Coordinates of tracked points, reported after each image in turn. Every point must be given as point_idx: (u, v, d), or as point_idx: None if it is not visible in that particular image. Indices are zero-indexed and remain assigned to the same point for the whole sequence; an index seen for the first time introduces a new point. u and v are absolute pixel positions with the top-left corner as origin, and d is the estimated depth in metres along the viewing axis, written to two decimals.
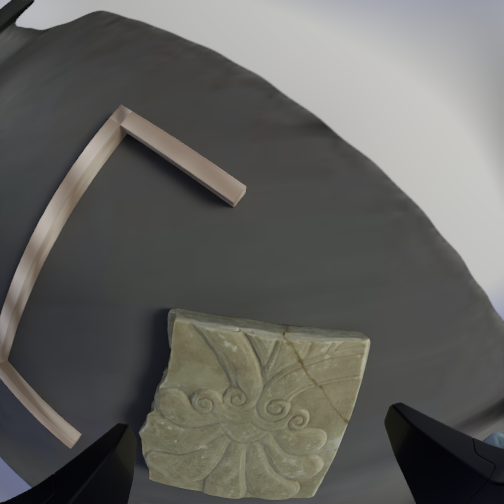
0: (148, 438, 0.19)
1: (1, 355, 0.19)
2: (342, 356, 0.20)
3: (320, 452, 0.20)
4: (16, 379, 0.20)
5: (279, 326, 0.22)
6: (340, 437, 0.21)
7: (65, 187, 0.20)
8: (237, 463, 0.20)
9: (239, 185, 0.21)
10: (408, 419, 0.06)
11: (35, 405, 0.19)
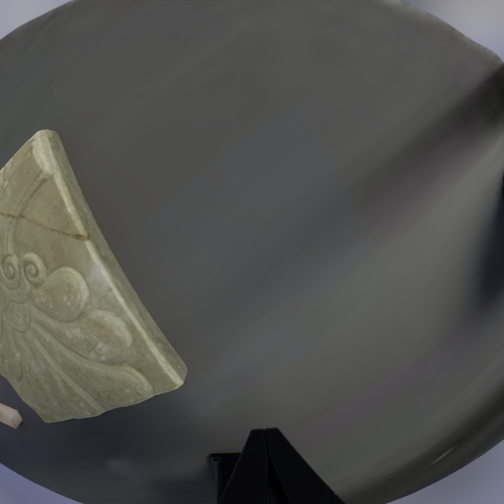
0: (1, 372, 0.15)
1: None
2: (15, 170, 0.12)
3: (98, 303, 0.15)
4: None
5: None
6: (96, 265, 0.14)
7: None
8: (45, 360, 0.15)
9: None
10: (270, 449, 0.06)
11: None
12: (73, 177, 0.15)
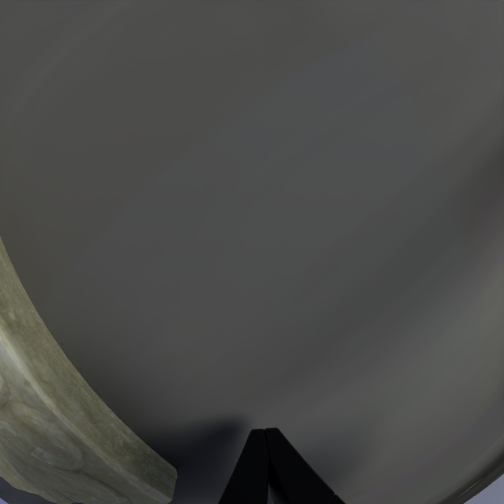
0: None
1: None
2: None
3: (20, 396, 0.06)
4: None
5: None
6: None
7: None
8: None
9: None
10: (270, 449, 0.06)
11: None
12: None
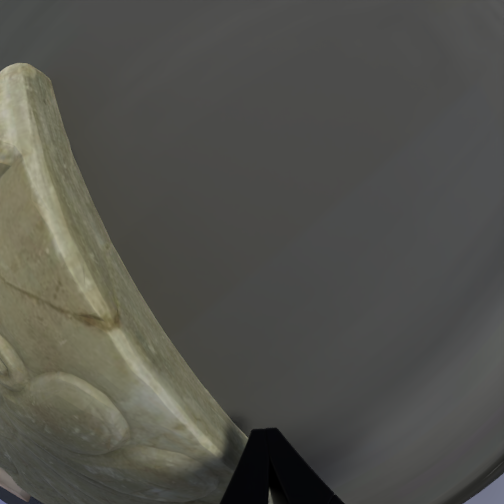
0: None
1: None
2: None
3: (150, 440, 0.06)
4: None
5: None
6: (143, 385, 0.06)
7: None
8: (51, 478, 0.06)
9: None
10: (269, 449, 0.06)
11: None
12: (71, 165, 0.06)
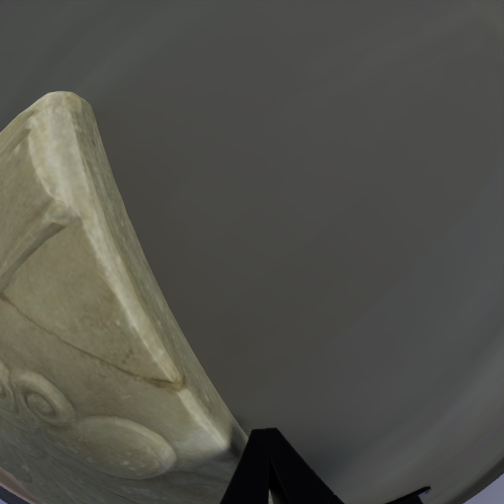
0: None
1: None
2: None
3: (193, 468, 0.07)
4: None
5: None
6: (202, 430, 0.06)
7: None
8: (75, 492, 0.07)
9: None
10: (269, 449, 0.06)
11: (19, 491, 0.09)
12: (126, 219, 0.07)
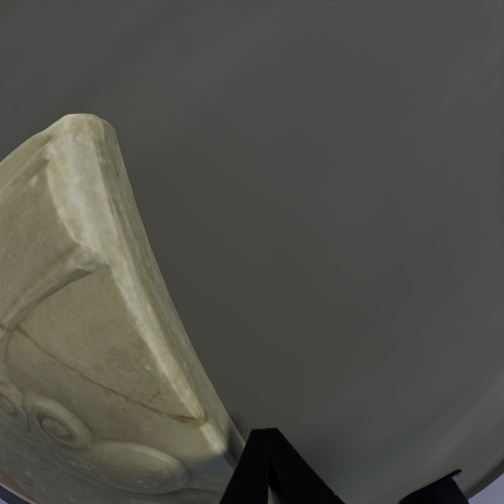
0: None
1: None
2: None
3: (204, 486, 0.07)
4: (20, 486, 0.10)
5: None
6: (218, 457, 0.07)
7: None
8: (79, 499, 0.07)
9: None
10: (270, 449, 0.06)
11: None
12: (150, 257, 0.07)
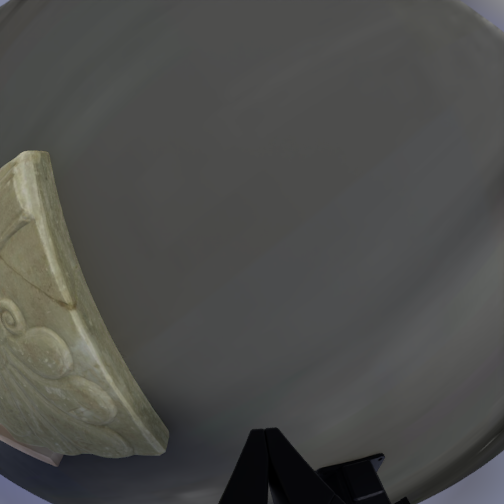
0: None
1: None
2: None
3: (82, 372, 0.12)
4: None
5: None
6: (82, 339, 0.11)
7: None
8: (21, 400, 0.12)
9: None
10: (270, 449, 0.06)
11: (12, 438, 0.14)
12: (61, 219, 0.12)
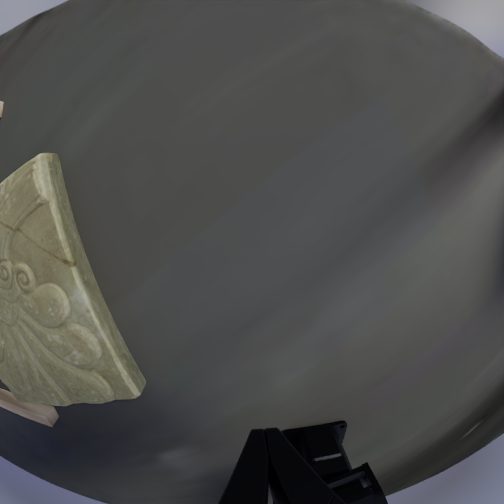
0: None
1: None
2: (16, 186, 0.14)
3: (77, 319, 0.16)
4: None
5: None
6: (78, 289, 0.16)
7: None
8: (26, 353, 0.16)
9: None
10: (270, 449, 0.06)
11: (14, 403, 0.19)
12: (67, 203, 0.17)
